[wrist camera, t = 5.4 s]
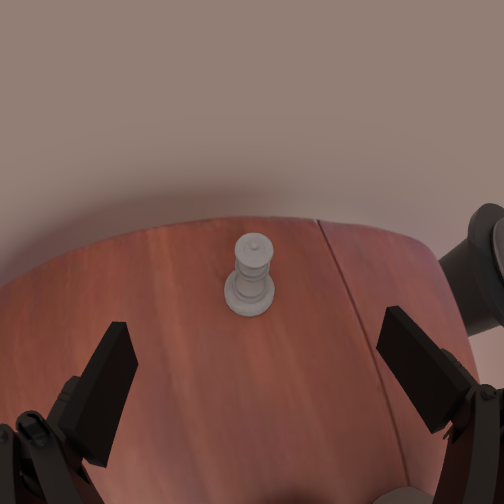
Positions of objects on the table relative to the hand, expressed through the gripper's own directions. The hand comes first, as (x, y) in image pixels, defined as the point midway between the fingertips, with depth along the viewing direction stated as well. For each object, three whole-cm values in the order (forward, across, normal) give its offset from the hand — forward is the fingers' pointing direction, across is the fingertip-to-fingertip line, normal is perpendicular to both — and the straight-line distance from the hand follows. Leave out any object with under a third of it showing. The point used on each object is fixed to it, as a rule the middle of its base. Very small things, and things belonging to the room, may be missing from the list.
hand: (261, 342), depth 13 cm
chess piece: (+12, 0, -4) cm, 12 cm away
